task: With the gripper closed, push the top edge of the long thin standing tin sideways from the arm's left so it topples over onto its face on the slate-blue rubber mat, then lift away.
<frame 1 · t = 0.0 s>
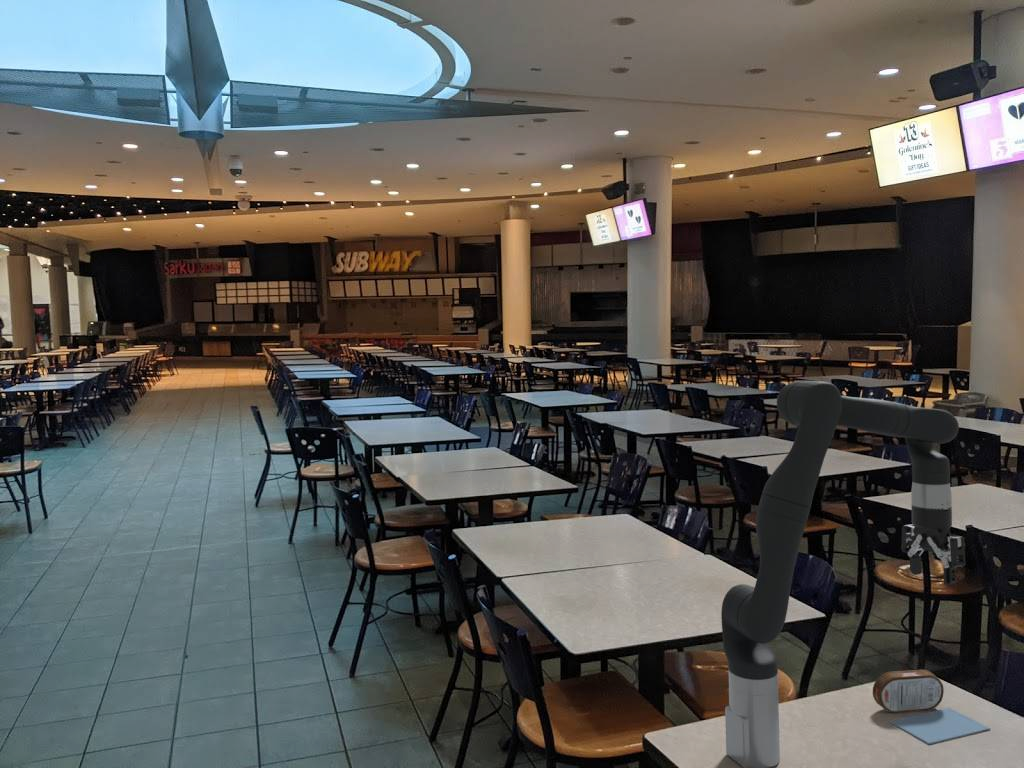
hand: (932, 579, 168), 29 cm above the table, fingers open, 8 cm apart
tin: (909, 711, 172), on the table
mat: (939, 726, 164), on the table
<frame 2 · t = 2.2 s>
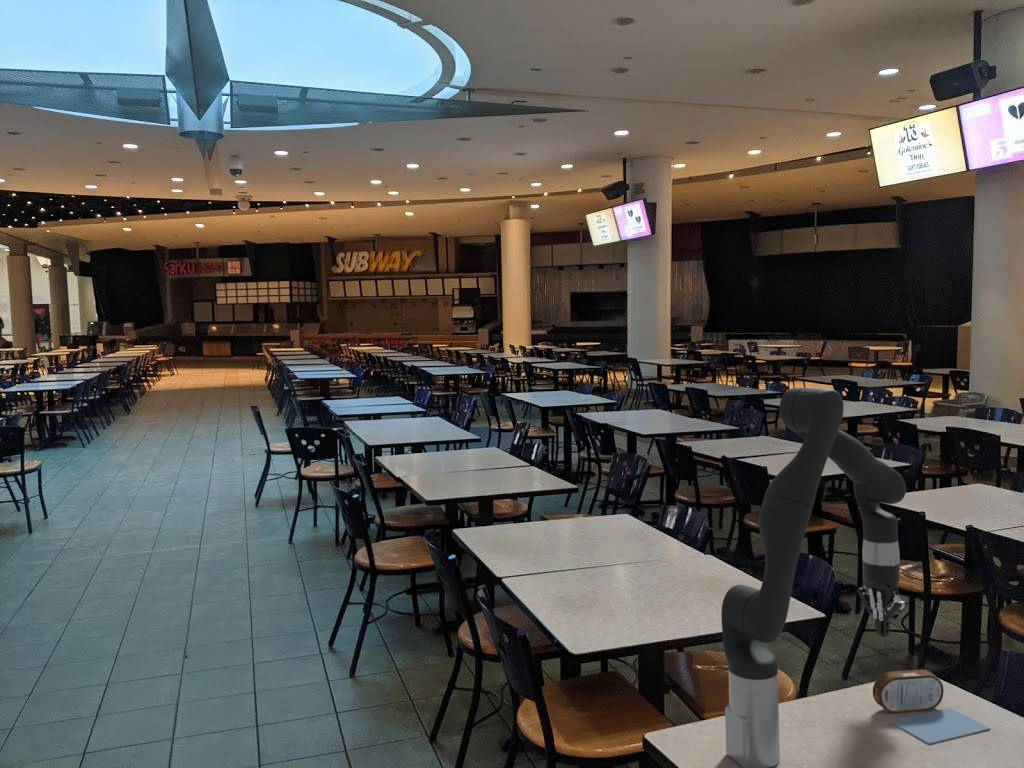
hand: (882, 635, 178), 14 cm above the table, fingers closed
nothing on the table moved.
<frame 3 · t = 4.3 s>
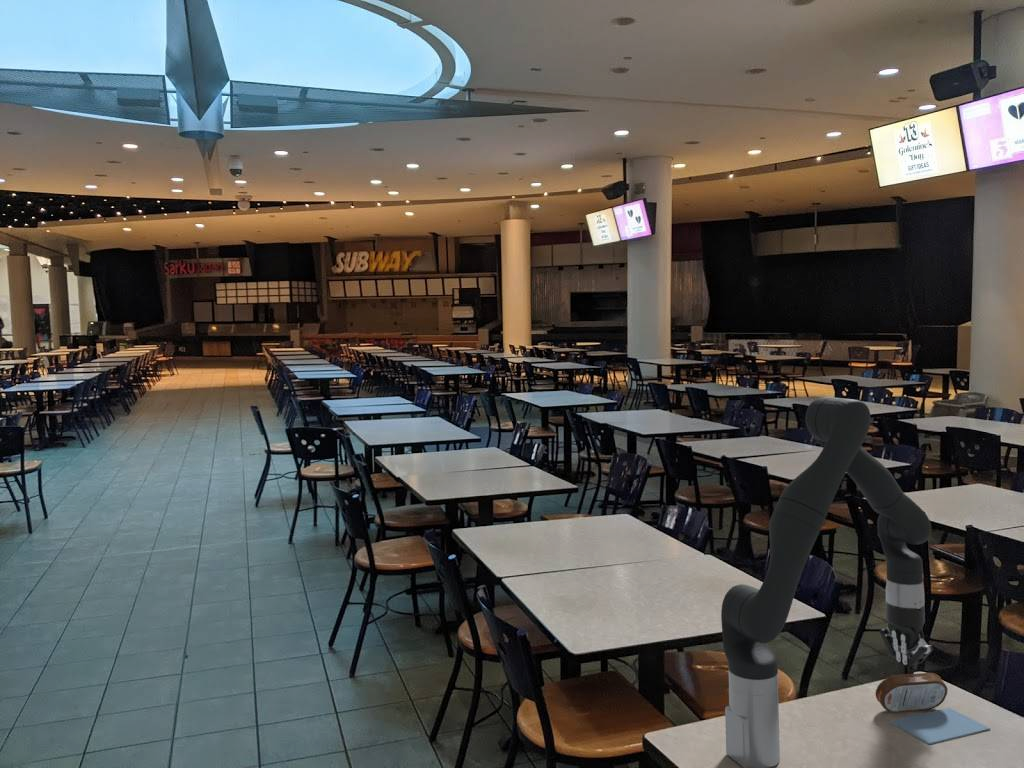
hand: (906, 679, 172), 6 cm above the table, fingers closed
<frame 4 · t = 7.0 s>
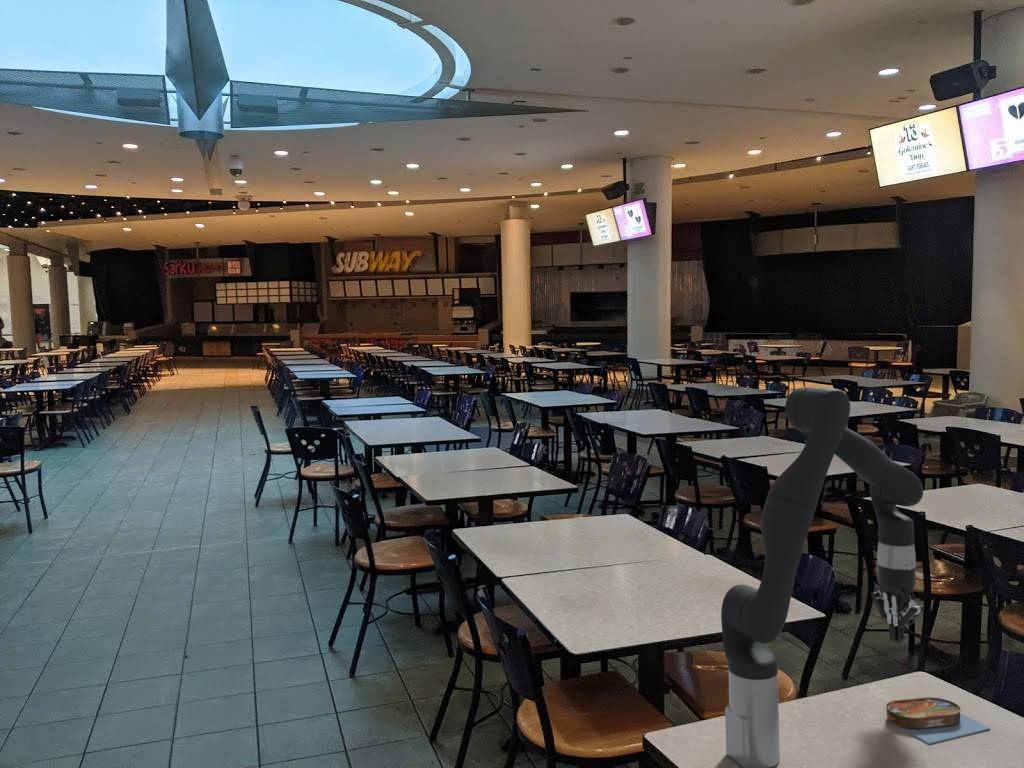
hand: (896, 641, 174), 14 cm above the table, fingers closed
tin: (910, 705, 171), point 1 cm above the table, touching mat
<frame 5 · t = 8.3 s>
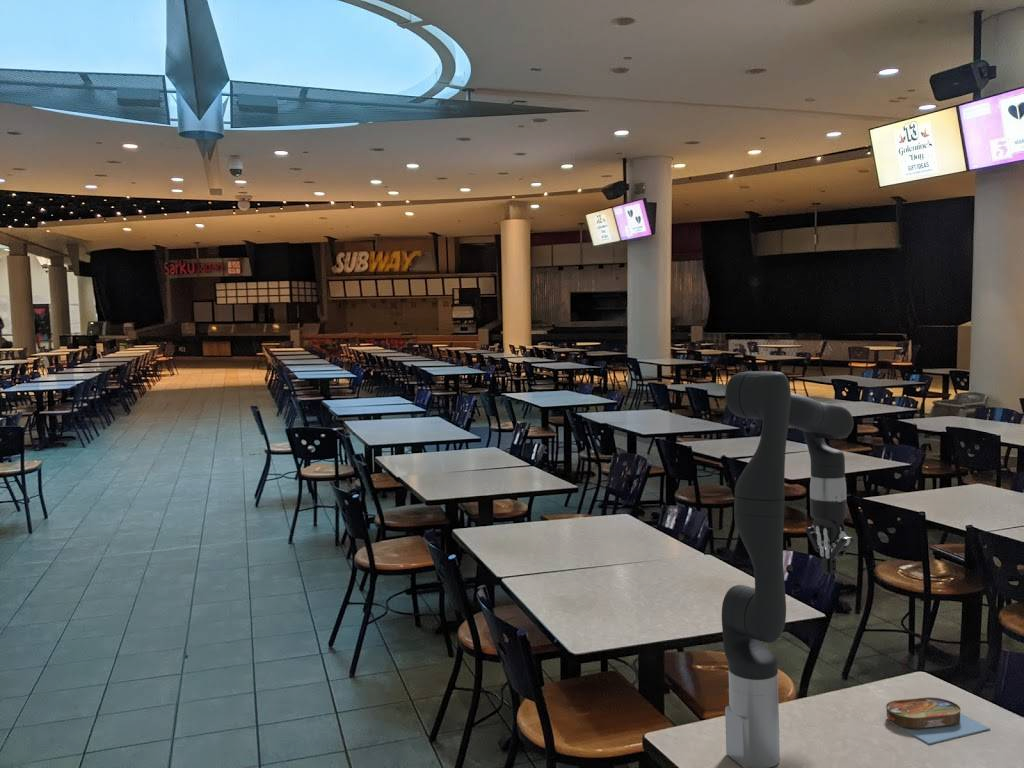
hand: (829, 573, 176), 29 cm above the table, fingers closed
nothing on the table moved.
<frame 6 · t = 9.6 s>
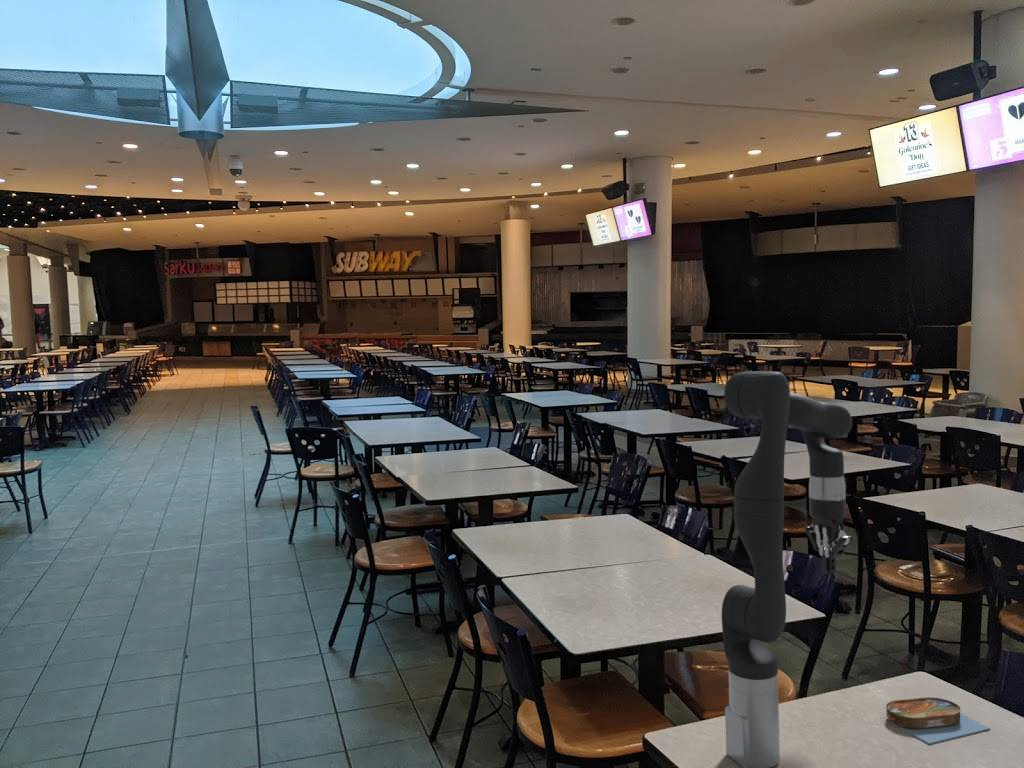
hand: (828, 572, 176), 29 cm above the table, fingers closed
nothing on the table moved.
at the end: tin tilted 85°; tin inside the target area on the mat (3.8 cm from its centre), point 1.2 cm above the mat's base; the gripper is holding nothing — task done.
